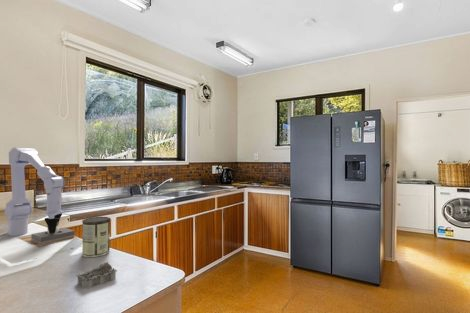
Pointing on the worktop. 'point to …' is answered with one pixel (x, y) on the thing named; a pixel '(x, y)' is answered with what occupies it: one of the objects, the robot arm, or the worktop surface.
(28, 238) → the board
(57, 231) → the cylinder
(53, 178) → the robot arm
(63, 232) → the grey square frame plate
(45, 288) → the worktop surface
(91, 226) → the coffee can
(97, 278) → the egg carton
